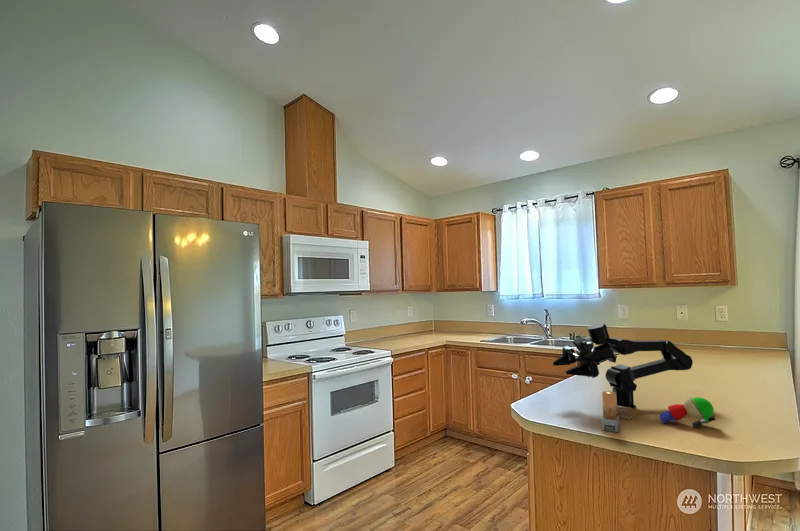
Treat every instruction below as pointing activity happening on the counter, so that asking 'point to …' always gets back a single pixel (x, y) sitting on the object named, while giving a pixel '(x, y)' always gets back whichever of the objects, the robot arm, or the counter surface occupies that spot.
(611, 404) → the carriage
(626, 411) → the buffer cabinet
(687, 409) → the toy
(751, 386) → the counter surface
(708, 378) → the counter surface
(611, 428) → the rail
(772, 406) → the counter surface
